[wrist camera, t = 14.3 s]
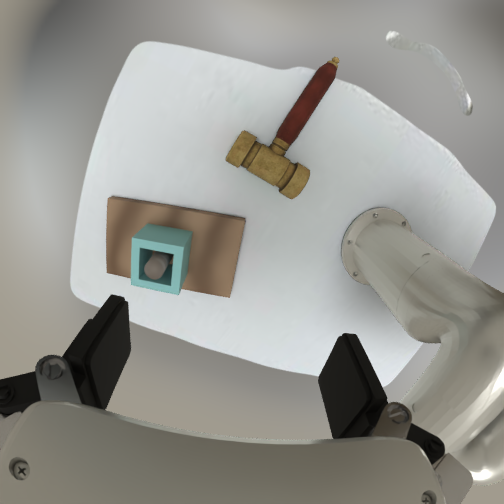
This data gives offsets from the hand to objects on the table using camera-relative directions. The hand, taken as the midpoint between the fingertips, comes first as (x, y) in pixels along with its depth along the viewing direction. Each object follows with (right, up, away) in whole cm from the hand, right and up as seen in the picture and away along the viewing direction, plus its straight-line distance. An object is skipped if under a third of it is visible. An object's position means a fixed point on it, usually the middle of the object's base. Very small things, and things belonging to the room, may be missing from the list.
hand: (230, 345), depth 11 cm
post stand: (-11, +5, +28) cm, 31 cm away
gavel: (+7, +22, +22) cm, 32 cm away
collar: (-11, +4, +27) cm, 29 cm away
